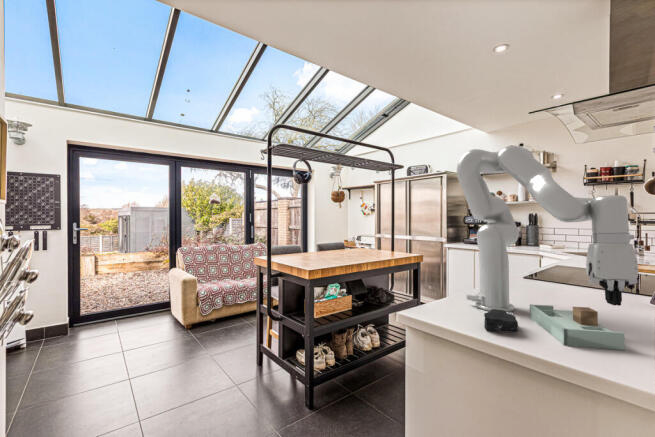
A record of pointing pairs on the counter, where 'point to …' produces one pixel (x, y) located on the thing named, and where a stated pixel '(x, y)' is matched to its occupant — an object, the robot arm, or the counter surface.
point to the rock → (500, 321)
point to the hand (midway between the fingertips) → (613, 304)
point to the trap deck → (575, 329)
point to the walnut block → (585, 316)
